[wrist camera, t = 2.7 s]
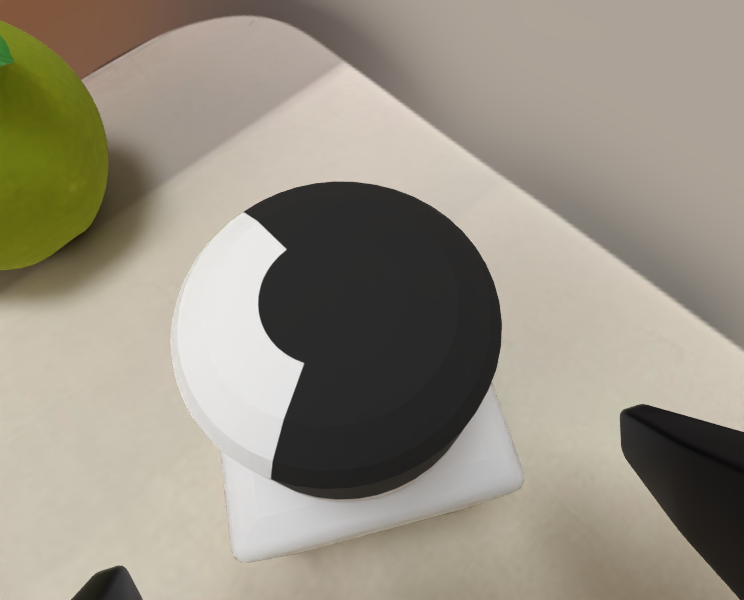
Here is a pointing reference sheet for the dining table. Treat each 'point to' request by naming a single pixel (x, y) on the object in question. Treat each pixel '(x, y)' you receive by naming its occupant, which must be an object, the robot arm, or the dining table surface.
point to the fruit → (45, 152)
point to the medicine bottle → (343, 367)
